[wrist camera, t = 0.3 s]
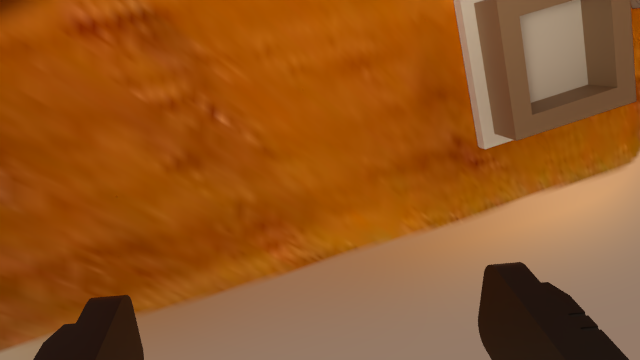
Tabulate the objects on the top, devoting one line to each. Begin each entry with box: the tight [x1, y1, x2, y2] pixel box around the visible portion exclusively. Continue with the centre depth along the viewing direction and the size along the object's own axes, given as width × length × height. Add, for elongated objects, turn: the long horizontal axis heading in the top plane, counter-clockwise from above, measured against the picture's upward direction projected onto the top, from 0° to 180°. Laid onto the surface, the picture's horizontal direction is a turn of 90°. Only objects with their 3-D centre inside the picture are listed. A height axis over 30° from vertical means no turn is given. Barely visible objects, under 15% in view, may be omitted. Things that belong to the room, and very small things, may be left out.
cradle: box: [454, 0, 636, 149], centre depth 36 cm, size 12×12×4 cm
